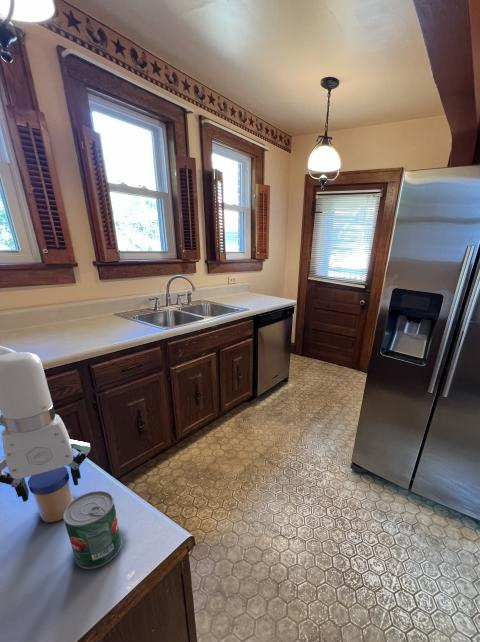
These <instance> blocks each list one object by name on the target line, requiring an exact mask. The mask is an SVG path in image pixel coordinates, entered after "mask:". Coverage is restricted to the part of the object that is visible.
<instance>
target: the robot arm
mask: <svg viewBox="0 0 480 642" xmlns="http://www.w3.org/2000/svg"><path fill="white" fill-rule="evenodd" d="M53 404H54V403H53V400H52V397H51V393H50V389H49V386H48V381H47V377H46V373H45V370H44V366H43V362H42V360H41V359H40V357H39V356H38V355H37V354H35V353H32V352H25V351H19V352H18V351H16V350H13V349H10V348H9V347H5V346H2V345H0V426H2V427H3V429H2V431H1V444H2V450H3V454H4V456H3V458H1V459H0V483H2V484H4V485H5V484H6V485H9V486H10V487H11V488H14V491H15V493H16V495H17V498H21V500H22V502H23V503H25V502H27V501H28V500H29V493H30V489H29V486H28V483H27V481H26V478H28V477H29V478H30V477H31V476H33V475H36V474H40V473H43V472H47V471H50V470H54V469H57V468H61V467H66V466H67V467H69V468H70V474H71V475H70V476H71V478H72V482H73V486H78V485H79V480H80V479H81V478H82V476H81V471H80V466H81V464H82V463H83V462H84V461H85V460H86V459H87V455H88V454H89V453H90V451H91V450H92V445H91V443H89V442H84V441H78V440H74V439H70V436H69V432H68V430H67V428H66V425H65V423H64V421H63V419H62V418H61V416H60V415H59V414H56V412H55V408H54V405H53ZM73 450H79V453H78V454H77V455H74V452H73ZM5 468H7V469H8V472H6V471H3V470H4V469H5Z"/></svg>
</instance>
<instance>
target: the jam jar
mask: <svg viewBox="0 0 480 642" xmlns="http://www.w3.org/2000/svg"><path fill="white" fill-rule="evenodd" d="M32 495H33V497H34V498H33V499H34V501H35V504H36V506H37V509H38V513H39V515H40V518H41V520H42V521H43V522H46V523H55V522H58V521H61V520H62V519H63V513H64V510H65V509H66V507H67V506H68V505H69V504H70V503H71V502H72V501H73V500H75V498H74V494H73V491H72V487H71V484H70V479H69V480H68V482H67V483H66V484H65V485H64V486H63V487H61V488H60V489H58V490H56V491H54V492H51V493H48V494H42V495H37V494H33V493H32ZM63 520H64V519H63Z"/></svg>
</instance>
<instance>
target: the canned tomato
mask: <svg viewBox="0 0 480 642" xmlns="http://www.w3.org/2000/svg"><path fill="white" fill-rule="evenodd" d="M63 522H64V526H65V529H66V532H67V535H68V538H69V542H70V545H71V549H72V552H73V556H74V559H75V563H76V565H77V566H78V567H79V568H81V569H85V570H93V569H97V568H99V567H102V566H104V565H106V564H108V563H109V562H110V561H112V560H113V559H114V558H115V557H116V556H117V555H118V554H119V552H120V550H121V548H122V545H123V539H122V537H121V536H122V535H121V530H120V525H119V521H118V515H117V511H116V506H115V500H114V497H113V495H112V494H111V493H110V492H108V491H104V490H96V491H95V490H94V491H90V492H87V493H84V494H82V495H79V496H78V497H76V498H74V500H73V501H72V502H71V503H70V504H69V505H68V506H67V507H66V509H65V510H64V513H63Z"/></svg>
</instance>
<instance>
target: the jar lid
mask: <svg viewBox="0 0 480 642" xmlns="http://www.w3.org/2000/svg"><path fill="white" fill-rule="evenodd" d="M68 480H69V481H70V473H69V469H68V468H67V467H66V466H64V467H61V468H57V469H54V470H50V471H47V472H43V473H40V474H36V475H33V476H29V478H28V480H27V487H28V490H29V492H31V493H32V495H33V494H37V495H42V494H48V493H51V492H54V491H56V490H58V489H60V488H61V487H63V486H64V485H65V484H66V483H67V482H68Z"/></svg>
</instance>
